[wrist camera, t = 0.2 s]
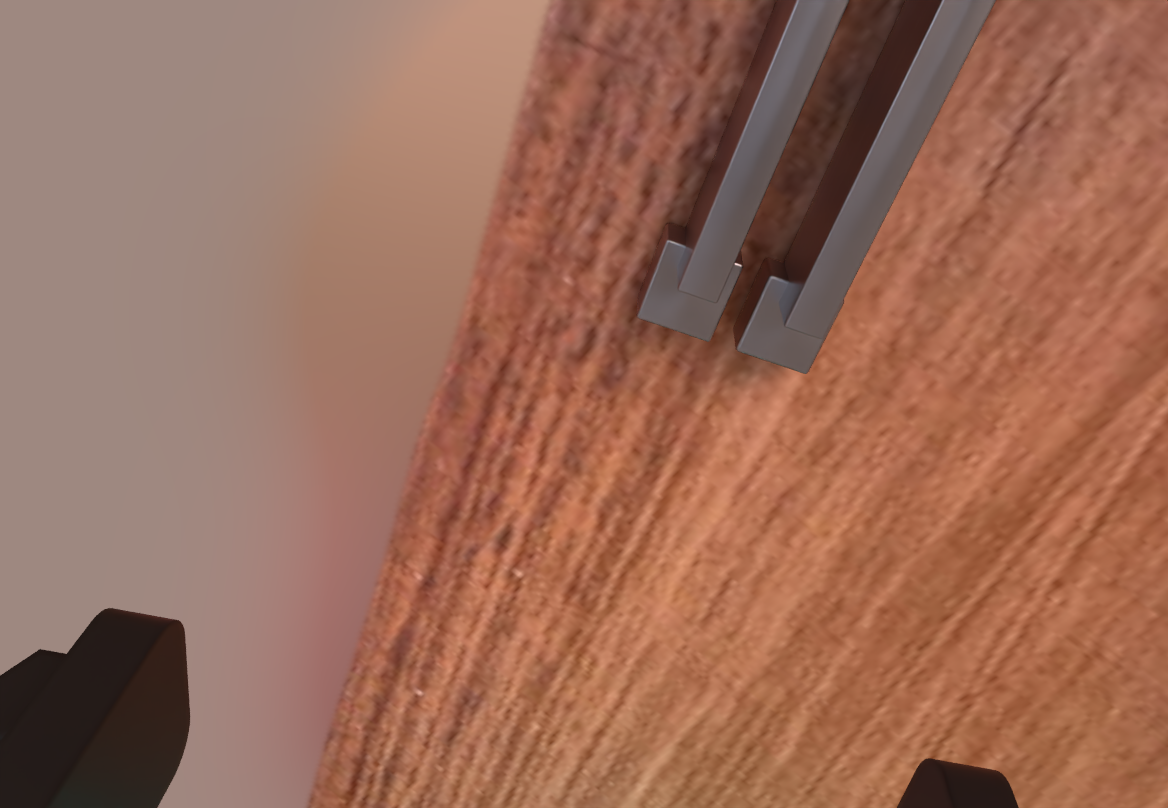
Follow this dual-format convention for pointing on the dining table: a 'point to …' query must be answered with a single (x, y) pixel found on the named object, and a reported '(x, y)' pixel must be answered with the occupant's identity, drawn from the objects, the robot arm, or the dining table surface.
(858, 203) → the steel tongs
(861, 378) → the dining table surface
